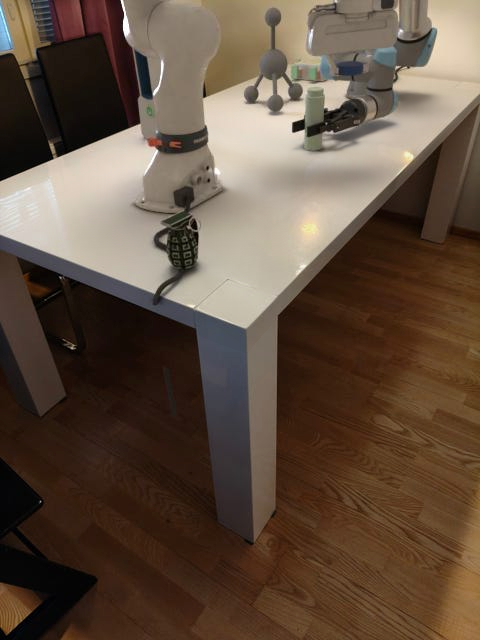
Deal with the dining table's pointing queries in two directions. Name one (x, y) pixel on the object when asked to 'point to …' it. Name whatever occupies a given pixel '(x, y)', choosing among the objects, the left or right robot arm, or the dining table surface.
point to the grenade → (182, 240)
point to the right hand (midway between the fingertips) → (300, 129)
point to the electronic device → (147, 91)
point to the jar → (314, 116)
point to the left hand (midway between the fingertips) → (349, 73)
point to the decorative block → (307, 69)
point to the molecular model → (273, 68)
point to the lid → (350, 68)
